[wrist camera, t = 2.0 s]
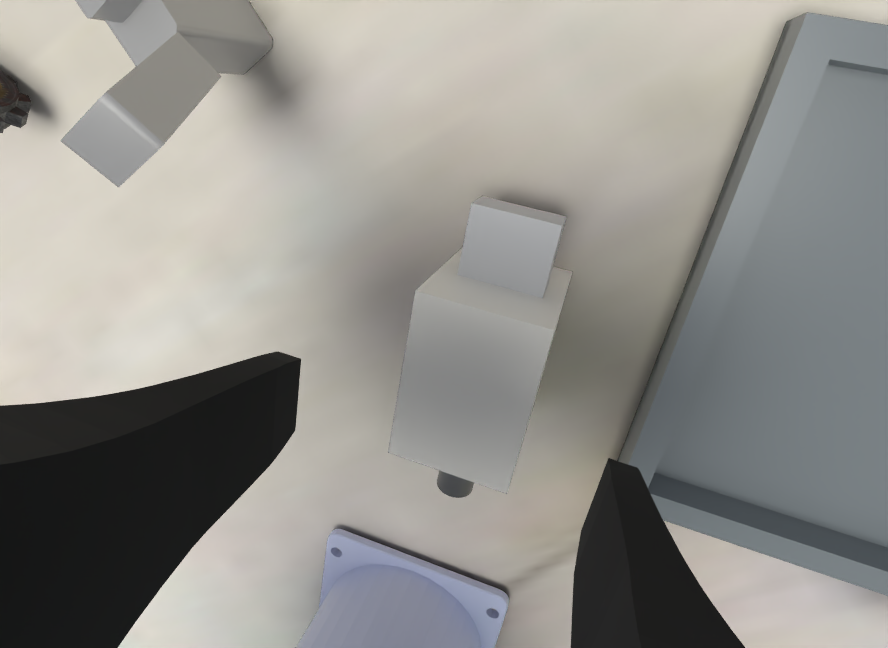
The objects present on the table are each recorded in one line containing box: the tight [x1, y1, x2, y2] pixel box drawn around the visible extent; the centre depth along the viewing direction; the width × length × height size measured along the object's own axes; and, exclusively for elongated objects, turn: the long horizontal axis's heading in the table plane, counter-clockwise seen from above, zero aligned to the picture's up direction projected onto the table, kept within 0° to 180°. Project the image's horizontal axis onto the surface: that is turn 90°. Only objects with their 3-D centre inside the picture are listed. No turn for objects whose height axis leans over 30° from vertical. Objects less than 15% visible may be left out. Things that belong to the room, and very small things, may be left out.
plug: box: [388, 196, 573, 498], centre depth 17 cm, size 9×4×5 cm, turn 170°
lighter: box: [61, 0, 273, 187], centre depth 14 cm, size 7×2×8 cm, turn 34°
